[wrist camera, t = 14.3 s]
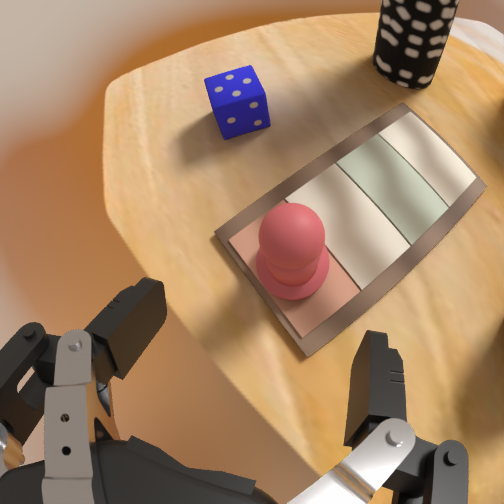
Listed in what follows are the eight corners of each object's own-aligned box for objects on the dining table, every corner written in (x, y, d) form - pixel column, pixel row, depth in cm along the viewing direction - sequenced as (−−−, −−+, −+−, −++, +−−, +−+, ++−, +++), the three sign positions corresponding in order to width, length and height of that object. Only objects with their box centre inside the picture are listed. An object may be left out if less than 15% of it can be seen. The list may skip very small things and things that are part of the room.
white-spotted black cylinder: (369, 76, 29) (388, -69, 10) (374, 44, 31) (387, -77, 12) (432, 97, 27) (478, -36, 8) (430, 62, 29) (461, -52, 10)
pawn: (298, 219, 25) (299, 159, 16) (341, 271, 23) (367, 233, 14) (244, 259, 24) (216, 216, 16) (285, 314, 23) (280, 302, 14)
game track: (401, 105, 28) (403, 101, 27) (484, 188, 24) (487, 185, 23) (215, 233, 26) (213, 230, 26) (307, 357, 22) (307, 357, 22)
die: (257, 96, 30) (251, 64, 26) (271, 126, 29) (265, 93, 24) (215, 109, 31) (203, 78, 26) (224, 140, 29) (212, 109, 24)
